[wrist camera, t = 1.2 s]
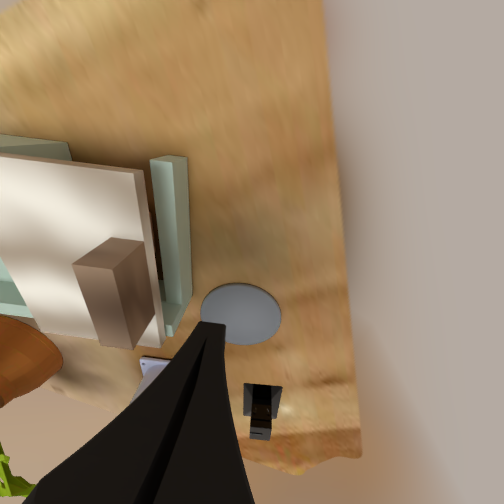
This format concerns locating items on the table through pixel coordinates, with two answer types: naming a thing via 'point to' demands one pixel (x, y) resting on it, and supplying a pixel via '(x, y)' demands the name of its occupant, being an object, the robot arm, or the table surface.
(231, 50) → the table surface
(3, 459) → the decorative plant
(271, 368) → the table surface
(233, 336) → the mat
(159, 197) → the sage green u-shaped tray
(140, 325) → the lid
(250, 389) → the black small block
